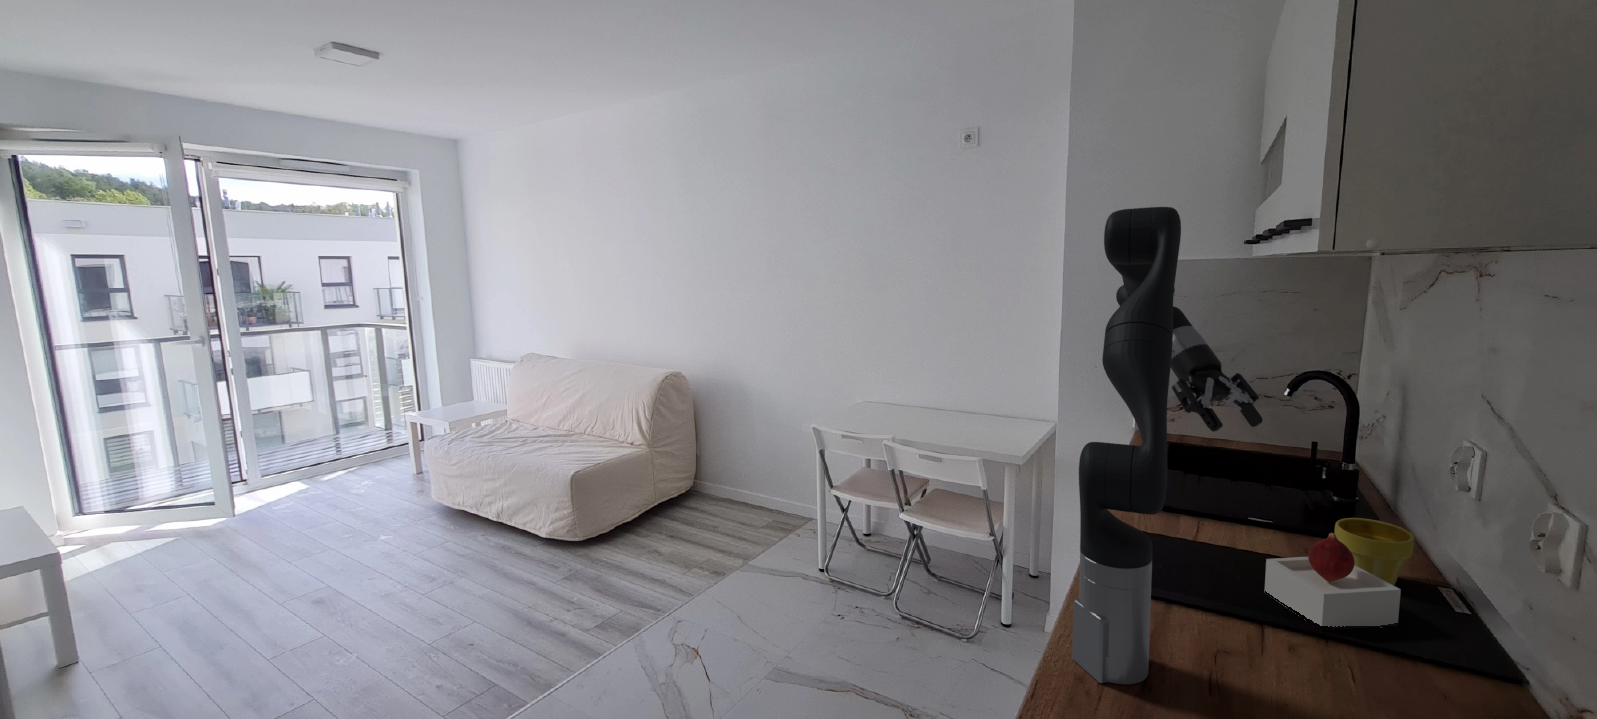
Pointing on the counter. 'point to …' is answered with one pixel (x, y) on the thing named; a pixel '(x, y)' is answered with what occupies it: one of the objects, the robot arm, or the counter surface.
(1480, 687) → the counter surface
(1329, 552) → the onion
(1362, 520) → the plant pot
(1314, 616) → the tray
